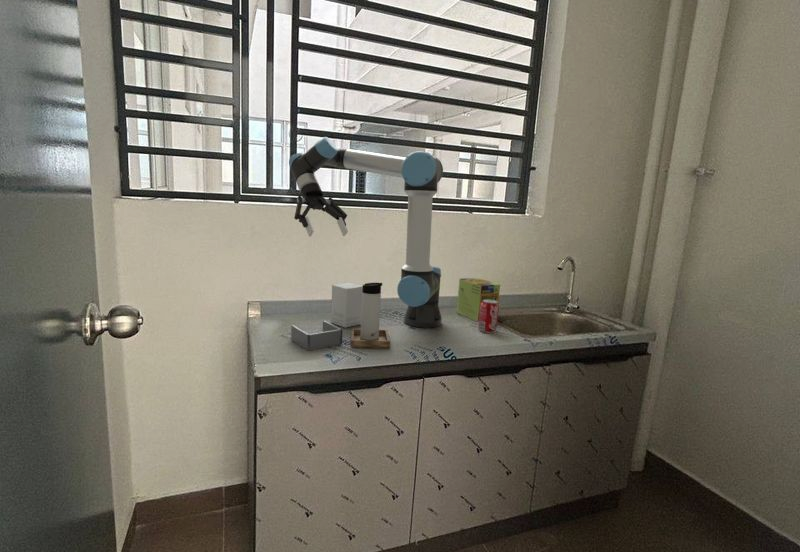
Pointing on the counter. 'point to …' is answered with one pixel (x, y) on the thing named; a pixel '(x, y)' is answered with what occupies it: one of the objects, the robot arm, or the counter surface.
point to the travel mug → (370, 311)
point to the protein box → (475, 296)
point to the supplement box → (346, 304)
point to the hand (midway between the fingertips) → (328, 233)
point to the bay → (317, 337)
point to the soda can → (488, 315)
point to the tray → (381, 343)
